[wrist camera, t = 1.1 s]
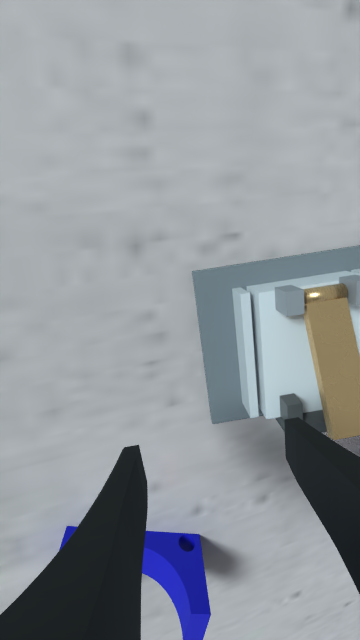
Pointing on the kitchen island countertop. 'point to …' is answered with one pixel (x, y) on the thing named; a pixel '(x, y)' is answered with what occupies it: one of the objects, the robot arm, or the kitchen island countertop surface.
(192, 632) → the blue half clamp bracket
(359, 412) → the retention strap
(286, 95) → the kitchen island countertop surface
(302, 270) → the heat-sink board
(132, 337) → the kitchen island countertop surface
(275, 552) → the kitchen island countertop surface
